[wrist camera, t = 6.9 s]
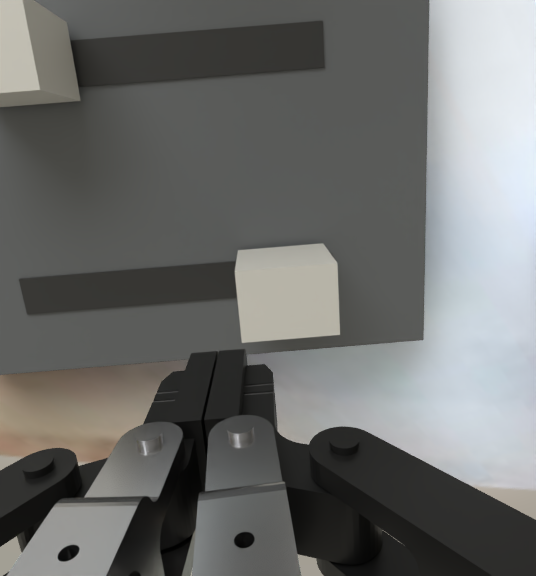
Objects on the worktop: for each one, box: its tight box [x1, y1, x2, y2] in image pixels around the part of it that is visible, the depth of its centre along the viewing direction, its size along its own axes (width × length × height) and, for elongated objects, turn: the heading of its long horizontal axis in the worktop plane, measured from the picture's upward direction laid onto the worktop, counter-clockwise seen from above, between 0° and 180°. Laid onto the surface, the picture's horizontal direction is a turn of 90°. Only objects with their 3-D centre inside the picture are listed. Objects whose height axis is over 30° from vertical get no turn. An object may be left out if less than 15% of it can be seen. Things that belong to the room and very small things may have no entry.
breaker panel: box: [0, 0, 429, 375], centre depth 23 cm, size 24×18×3 cm
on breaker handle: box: [0, 0, 81, 107], centre depth 18 cm, size 4×3×4 cm
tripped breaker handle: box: [235, 243, 340, 343], centre depth 21 cm, size 4×3×4 cm
